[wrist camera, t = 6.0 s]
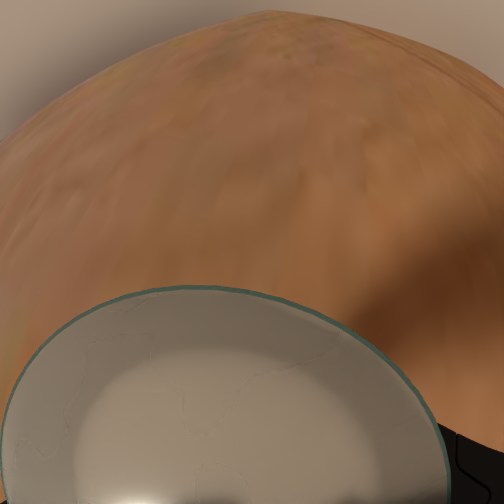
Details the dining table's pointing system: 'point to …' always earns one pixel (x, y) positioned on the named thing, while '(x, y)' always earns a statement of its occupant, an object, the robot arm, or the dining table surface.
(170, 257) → the dining table surface
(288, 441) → the drinking glass
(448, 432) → the robot arm
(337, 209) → the dining table surface
